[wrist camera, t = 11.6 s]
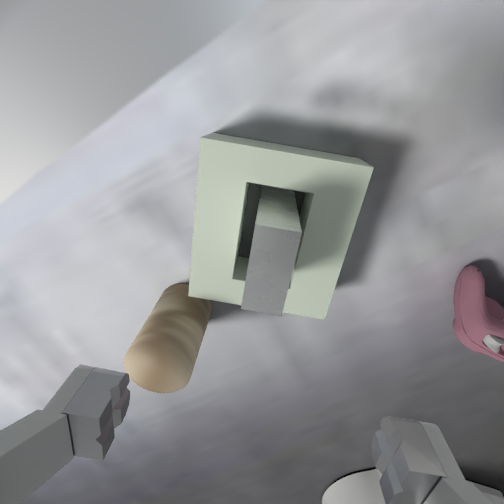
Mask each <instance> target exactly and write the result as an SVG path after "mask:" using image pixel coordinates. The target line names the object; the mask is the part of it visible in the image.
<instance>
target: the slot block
mask: <svg viewBox="0 0 504 504" xmlns="http://www.w3.org/2000/svg"><path fill="white" fill-rule="evenodd" d="M373 169H374V167H372V166H371V165H369V164H367V163H366V162H364V161H363V160H361V159H359V158H356V157H350V156H345V155H339V154H333V153H327V152H322V151H316V150H310V149H304V148H298V147H293V146H287V145H281V144H275V143H270V142H264V141H258V140H252V139H247V138H241V137H235V136H229V135H223V134H218V133H210V134H208V135H205V136H203V137H201V139H200V152H199V164H198V177H197V190H196V203H195V216H194V229H193V241H192V254H191V267H190V280H189V293H188V296H190V297H196V298H202V299H208V300H214V301H219V302H225V303H231V304H237V305H241V304H242V298H243V292H244V287H245V281H246V275H247V269H248V263H249V258H247V257H241V256H238V253H239V247H240V240H241V233H242V227H243V220H244V214H245V207H246V201H247V194H248V188H249V182H250V183H256V184H262V185H267V186H273V187H279V188H285V189H291V190H296V191H302V192H305V197H304V201H303V205H302V209H301V214H300V218H299V220H300V225H301V230H302V235H301V239H300V243H299V247H298V251H297V255H296V259H295V263H294V267H293V271H292V275H291V280H290V284H289V288H288V292H287V296H286V300H285V304H284V308H283V313H289V314H295V315H301V316H306V317H312V318H318V319H324V320H325V317H326V314H327V311H328V308H329V305H330V302H331V299H332V296H333V292H334V289H335V286H336V283H337V280H338V277H339V274H340V271H341V268H342V265H343V262H344V258H345V255H346V252H347V249H348V246H349V243H350V240H351V237H352V234H353V231H354V228H355V224H356V221H357V218H358V215H359V212H360V209H361V206H362V203H363V200H364V197H365V194H366V190H367V187H368V184H369V181H370V178H371V175H372V172H373Z"/></svg>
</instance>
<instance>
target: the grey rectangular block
mask: <svg viewBox="0 0 504 504" xmlns="http://www.w3.org/2000/svg"><path fill="white" fill-rule="evenodd" d="M301 235H302V230H301V225H300V220H299V215H298V210H297V205H296V200H295V195H294V190H288V189H283V188H277V187H271V186H265V185H262V189H261V195H260V200H259V206H258V211H257V217H256V222H255V228H254V234H253V240H252V246H251V251H250V257H249V263H248V269H247V275H246V281H245V287H244V292H243V298H242V304H241V309H243V310H249V311H255V312H261V313H266V314H272V315H278V316H282V312H283V308H284V304H285V300H286V296H287V292H288V288H289V284H290V280H291V275H292V271H293V267H294V263H295V259H296V255H297V251H298V247H299V243H300V239H301Z"/></svg>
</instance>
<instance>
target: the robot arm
mask: <svg viewBox="0 0 504 504" xmlns="http://www.w3.org/2000/svg"><path fill="white" fill-rule="evenodd" d="M129 382H130V381H129V374H127V373H122V372H117V371H112V370H107V369H102V368H97V367H91V366H85V365H79V366H78V367H77V368H75V369H74V371H73V372H72V373H71V374H70V376H69V377H68V378H67V380H66V381H65V382H64V383H63V385H62V386H61V387H60V389H59V390H58V391H57V392H56V394H55V395H54V396H53V398H52V399H51V400H50V401H49V403H48V404H47V405H46V407H45V408H44V409H43V410H36V411H34V412H32V413H31V414H29V415H27V416H25V417H24V418H22V419H20V420H18V421H17V422H15V423H13V424H11V425H10V426H8V427H6V428H4V429H3V430H1V431H0V504H20V503H21V502H23V501H24V500H25V499H26V498H27V497H28V496H30V495H31V494H32V493H33V492H34V491H36V490H37V489H38V488H39V487H40V486H41V485H43V484H44V483H45V482H46V481H47V480H48V479H50V478H51V477H52V476H53V475H54V474H56V473H57V472H58V471H59V470H60V469H61V468H63V467H64V466H65V465H66V464H67V463H68V462H70V461H71V460H72V459H73V458H74V456H78V457H85V458H93V459H100V460H103V459H104V457H105V455H106V453H107V451H108V449H109V447H110V445H111V443H112V441H113V439H114V428H116V427H117V426H118V425H120V424H121V423H122V421H123V419H124V417H125V415H126V412H127V409H128V405H129V400H130V391H129V390H128V389H127V388H126V387H127V385H128V383H129ZM380 424H381V428H382V429H381V430H379V431H377V432H376V433H375V435H374V437H373V439H372V456H373V460H374V464H375V466H376V468H377V469H374V470H369V471H364V472H359V473H355V474H352V475H349V476H346V477H344V478H342V479H340V480H338V481H336V482H335V483H333V484H332V485H331V486H330V487H329V488H328V489H327V490H326V491H325V493H324V495H323V498H322V504H504V497H503V495H502V493H501V492H500V491H498V490H496V489H493V488H490V487H486V486H483V485H480V484H477V483H474V482H470V481H467V480H465V478H464V476H463V474H462V472H461V470H460V468H459V466H458V464H457V462H456V460H455V458H454V456H453V455H452V453H451V451H450V449H449V447H448V445H447V443H446V441H445V439H444V437H443V435H442V433H441V431H440V429H439V428H438V427H437V426H436V425H435V424H431V423H425V422H419V421H416V420H409V419H402V418H396V417H389V416H386V417H384V418H383V419H382V421H381V423H380Z"/></svg>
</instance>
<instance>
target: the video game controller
mask: <svg viewBox="0 0 504 504" xmlns="http://www.w3.org/2000/svg"><path fill="white" fill-rule="evenodd" d="M454 311H455V319H454V320H453V329H454V333H455V335H456V336H457V338H458V339H459V340H460V342H462V343H463V344H464V345H465V346H466V347H468V348H469V349H470V350H472V351H474V352H477V353H485V354H487V355H489V356H491V357H492V358H495V359H497V360H499V361H502V362H504V321H502V320H503V318H504V311H503V309H502V307H501V305H500V304H499V303H498V302H497V301H495V300H493V299H492V298H489V297H487V296H485V280H484V277H483V275H482V272H481V271H480V269H479V268H478V267H476V266H474V265H469V266H466V267H465V268H464V269H463V270H462V271H461V272H460V274H459V276H458V278H457V281H456V284H455V289H454Z"/></svg>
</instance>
